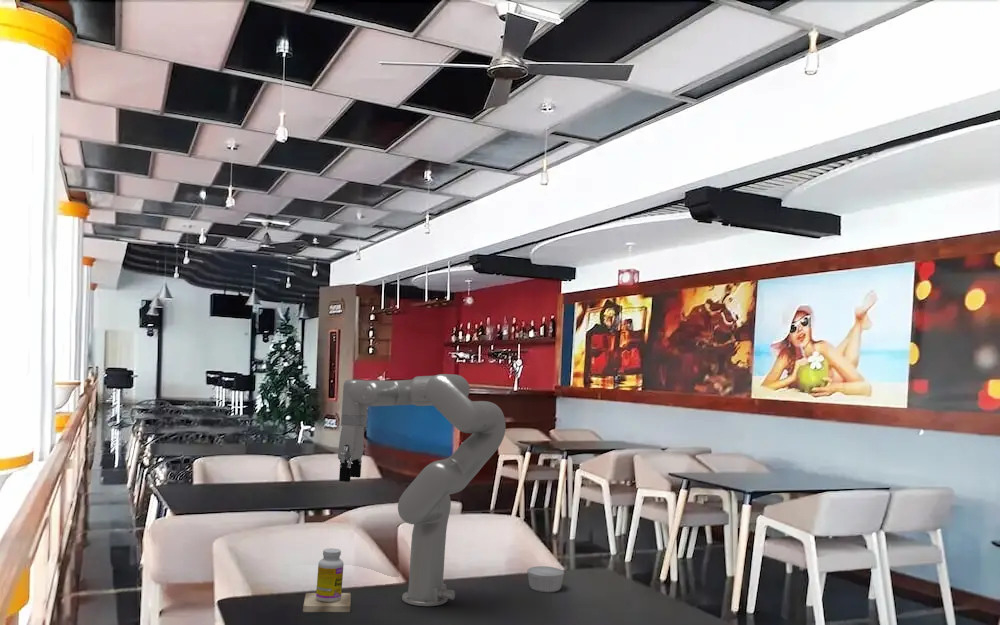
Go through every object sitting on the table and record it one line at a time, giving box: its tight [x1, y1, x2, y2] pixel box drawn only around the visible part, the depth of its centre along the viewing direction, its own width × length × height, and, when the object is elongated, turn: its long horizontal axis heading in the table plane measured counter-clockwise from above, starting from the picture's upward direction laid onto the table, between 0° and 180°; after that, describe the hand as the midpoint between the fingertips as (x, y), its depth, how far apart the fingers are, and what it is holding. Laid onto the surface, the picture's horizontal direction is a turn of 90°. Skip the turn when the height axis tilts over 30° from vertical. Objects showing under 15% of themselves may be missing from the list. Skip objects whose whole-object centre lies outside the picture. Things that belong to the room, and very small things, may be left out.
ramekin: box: [526, 565, 565, 593], centre depth 241 cm, size 11×11×5 cm
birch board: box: [302, 592, 352, 613], centre depth 212 cm, size 12×12×2 cm
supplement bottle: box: [315, 548, 344, 602], centre depth 213 cm, size 7×7×13 cm
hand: (349, 479), depth 236 cm, fingers open, 9 cm apart
